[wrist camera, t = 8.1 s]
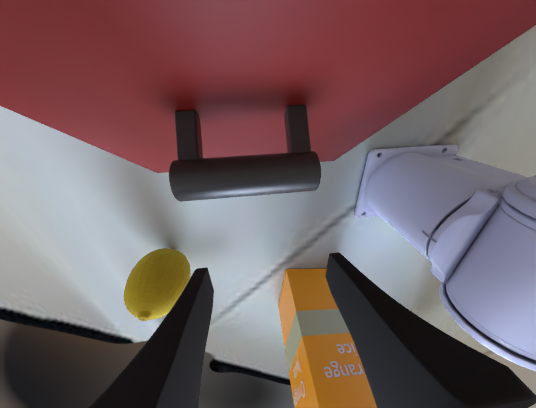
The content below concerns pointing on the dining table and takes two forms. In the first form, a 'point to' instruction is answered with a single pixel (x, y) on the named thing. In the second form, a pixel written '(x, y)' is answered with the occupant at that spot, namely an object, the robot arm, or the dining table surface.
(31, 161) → the dining table surface
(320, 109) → the lid
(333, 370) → the orange juice
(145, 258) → the lemon
